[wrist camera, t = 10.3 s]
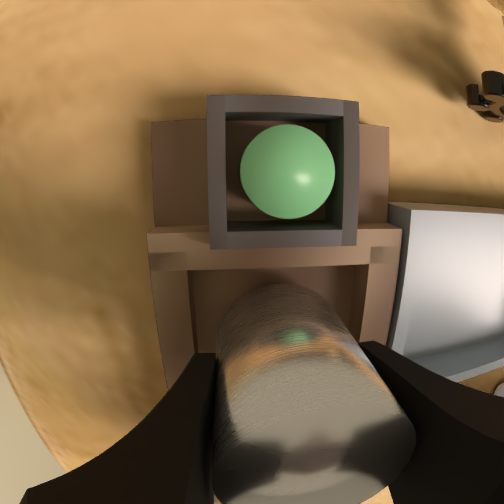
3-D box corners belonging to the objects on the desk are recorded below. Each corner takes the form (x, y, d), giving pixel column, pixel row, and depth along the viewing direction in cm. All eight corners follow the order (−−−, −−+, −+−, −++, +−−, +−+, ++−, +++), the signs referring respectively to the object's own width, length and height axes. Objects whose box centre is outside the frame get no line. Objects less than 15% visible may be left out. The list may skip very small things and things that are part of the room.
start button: (317, 132, 10) (334, 126, 8) (317, 210, 11) (333, 218, 9) (238, 131, 10) (240, 123, 8) (239, 210, 10) (241, 219, 9)
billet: (345, 281, 11) (443, 386, 5) (330, 384, 12) (383, 503, 6) (214, 284, 10) (202, 415, 4) (219, 390, 11) (218, 526, 6)
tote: (540, 212, 13) (568, 220, 11) (514, 335, 15) (536, 351, 13) (380, 201, 12) (411, 209, 10) (359, 372, 14) (378, 403, 12)
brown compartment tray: (377, 119, 11) (506, 92, 4) (330, 474, 16) (358, 559, 10) (157, 115, 11) (73, 57, 4) (200, 485, 16) (198, 576, 9)
